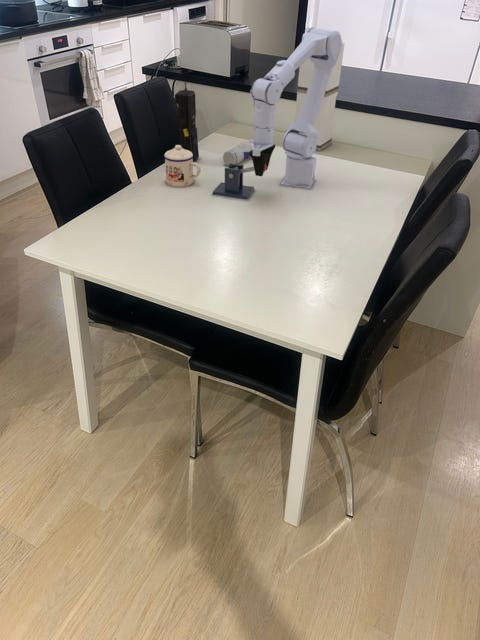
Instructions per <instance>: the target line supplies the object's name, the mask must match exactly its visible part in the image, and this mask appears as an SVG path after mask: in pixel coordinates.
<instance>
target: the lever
mask: <svg viewBox="0 0 480 640" xmlns="http://www.w3.org/2000/svg"><path fill="white" fill-rule="evenodd" d="M232 169H239V168H238V167H235V168H232ZM266 169H267V165H266V164H265V169H264V173H265V172H266V171H267V170H268V169H267V170H266ZM239 170H240V173H243V174H244V173H251V172H255V170H254V166H250V167H245V168H244V167H243V169H239Z"/></svg>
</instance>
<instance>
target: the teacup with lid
mask: <svg viewBox="0 0 480 640" xmlns="http://www.w3.org/2000/svg"><path fill="white" fill-rule="evenodd" d="M163 158H164V164H165V165H164V166H165V181H166V184H168V185H169V186H172V187H187V186H189V185H192V184H193V183H194V179H196V178H198V177H199V176H200V174H201V166H200V165H199V163H197V162H196V161H195V162H193V154H192V152H190V151H188V150H185V149H183V148H182V147H181V145H180V144H175V146H174V147H173V148H172V149H169V150H167V151H166V152H165V153H164V155H163ZM194 167H196V170H197V171H196V174H194Z"/></svg>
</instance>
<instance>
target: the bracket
mask: <svg viewBox="0 0 480 640" xmlns="http://www.w3.org/2000/svg"><path fill="white" fill-rule="evenodd" d="M235 167H238V168H239V169H244V164H240V163H238V164H232V163H230V164H229V166H228V167H224V182H223V181H221V182H220V183H219V184H218V185H217V186H216V187H215V189H214V190H213V191H212V195H214V196H220V197H221V196H222V197H227V198H234V199H242V200H248V199H249V198H250V197H251V195H252V193H253V192H254V191H255V187H254V186H250V185H244V173H240V170H239V169H232V168H235Z"/></svg>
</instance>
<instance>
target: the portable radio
mask: <svg viewBox="0 0 480 640" xmlns="http://www.w3.org/2000/svg"><path fill="white" fill-rule="evenodd" d="M184 86H185V87H184V89H182V90H179V91H177V92H176V93H175V94H174V103H175V104H176V105H177V115H178V135H179V136H178V137H179V145H181V147H182V148H183V149H185V150H188V151H190V152H192V154H193V162H195V163H196V161H197V160H198V159H199V158H200V153H199V142H198V141H199V140H198V139H199V138H198V127H196V116H197V110H196V109H197V108H196V106H197V105H196V92H195V90H189V89H188V88H187V82H184Z"/></svg>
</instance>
